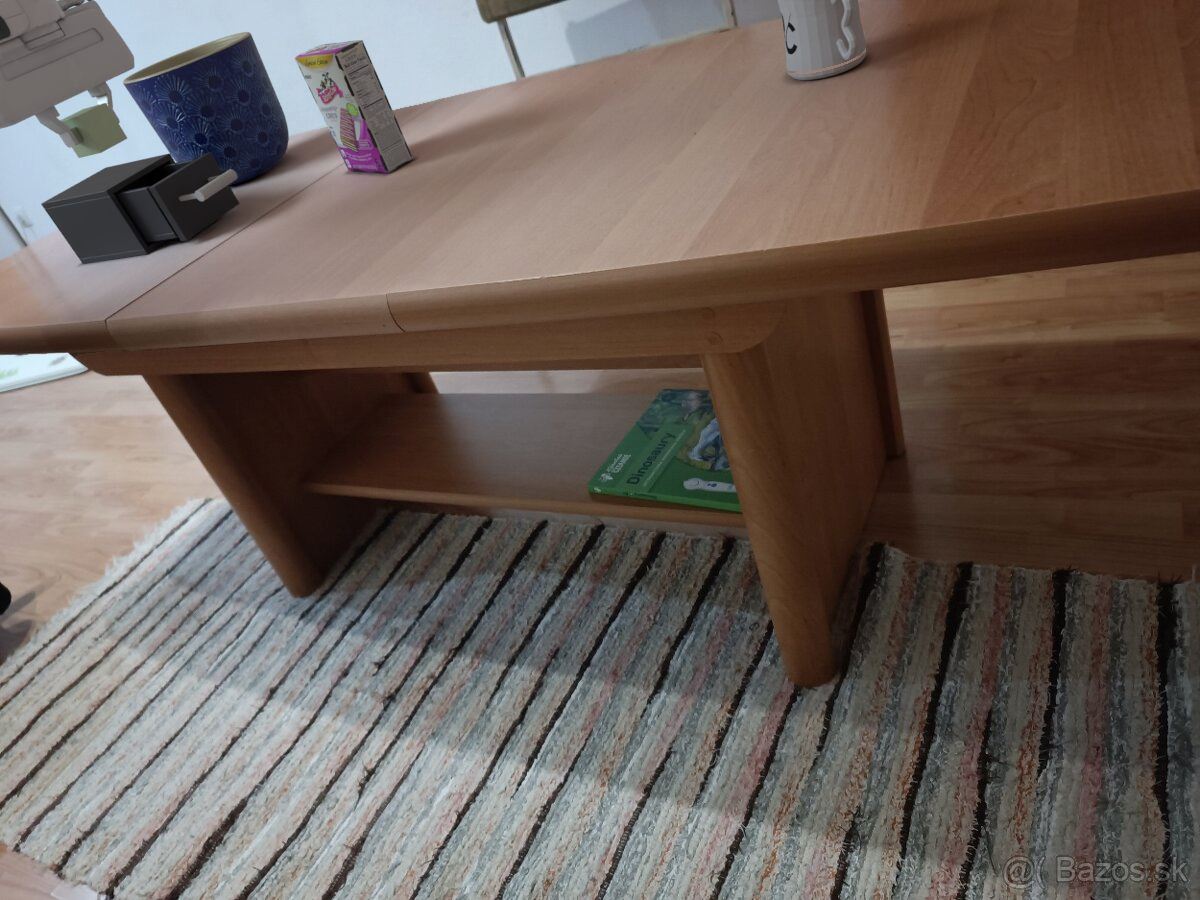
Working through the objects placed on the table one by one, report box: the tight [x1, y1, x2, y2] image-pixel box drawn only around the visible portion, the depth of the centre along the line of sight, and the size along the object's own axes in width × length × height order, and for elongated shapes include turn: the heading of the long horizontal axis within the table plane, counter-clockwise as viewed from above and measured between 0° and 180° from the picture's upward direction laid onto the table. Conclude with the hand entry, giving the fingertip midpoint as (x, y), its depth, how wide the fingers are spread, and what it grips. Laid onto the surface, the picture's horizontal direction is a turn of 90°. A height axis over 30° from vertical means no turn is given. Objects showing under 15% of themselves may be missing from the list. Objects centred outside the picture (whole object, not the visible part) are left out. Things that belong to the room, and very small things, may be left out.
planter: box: [122, 31, 290, 187], centre depth 140 cm, size 21×21×19 cm
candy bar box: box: [294, 39, 414, 174], centre depth 119 cm, size 11×5×16 cm, turn 47°
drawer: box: [114, 152, 240, 243], centre depth 123 cm, size 18×11×8 cm, turn 69°
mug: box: [777, 0, 868, 81], centre depth 96 cm, size 12×9×10 cm
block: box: [59, 103, 128, 159], centre depth 105 cm, size 4×4×4 cm
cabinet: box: [40, 153, 176, 264], centre depth 128 cm, size 15×13×10 cm
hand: (94, 135), depth 105 cm, fingers closed on block, 4 cm apart
